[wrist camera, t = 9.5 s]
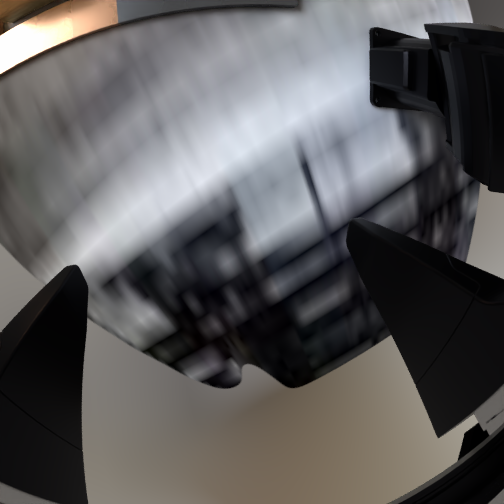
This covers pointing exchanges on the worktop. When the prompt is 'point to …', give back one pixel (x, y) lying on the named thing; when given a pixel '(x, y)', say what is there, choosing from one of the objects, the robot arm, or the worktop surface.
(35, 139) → the worktop surface
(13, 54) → the frame with rectangular openings
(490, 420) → the robot arm
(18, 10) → the wooden block
